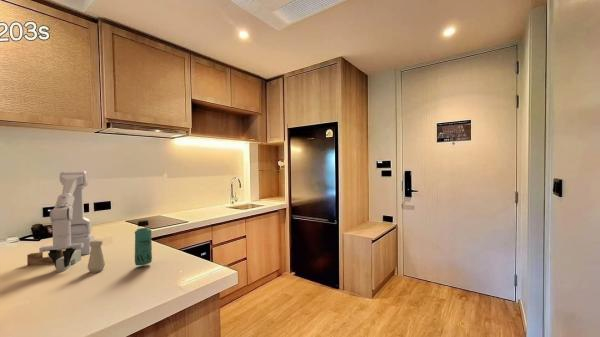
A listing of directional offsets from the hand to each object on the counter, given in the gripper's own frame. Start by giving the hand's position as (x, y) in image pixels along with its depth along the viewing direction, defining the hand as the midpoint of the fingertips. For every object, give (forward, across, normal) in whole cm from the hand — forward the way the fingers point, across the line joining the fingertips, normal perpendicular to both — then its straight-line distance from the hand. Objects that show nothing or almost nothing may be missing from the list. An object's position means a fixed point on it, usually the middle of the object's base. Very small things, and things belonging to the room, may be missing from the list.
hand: (62, 266), depth 110 cm
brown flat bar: (+1, -12, +14) cm, 19 cm away
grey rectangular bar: (+1, 0, +6) cm, 6 cm away
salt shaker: (+2, +15, -8) cm, 17 cm away
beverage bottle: (+2, +33, -10) cm, 34 cm away
